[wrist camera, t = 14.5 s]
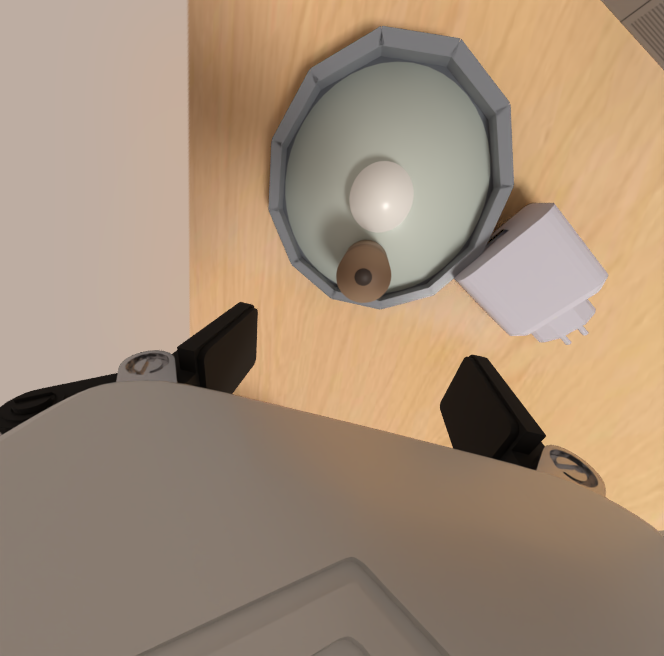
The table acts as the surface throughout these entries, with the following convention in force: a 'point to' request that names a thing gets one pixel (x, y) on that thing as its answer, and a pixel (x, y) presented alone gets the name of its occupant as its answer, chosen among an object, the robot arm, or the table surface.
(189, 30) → the table surface
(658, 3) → the cassette player
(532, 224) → the charger
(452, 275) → the tray
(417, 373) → the table surface
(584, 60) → the table surface
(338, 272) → the bead
